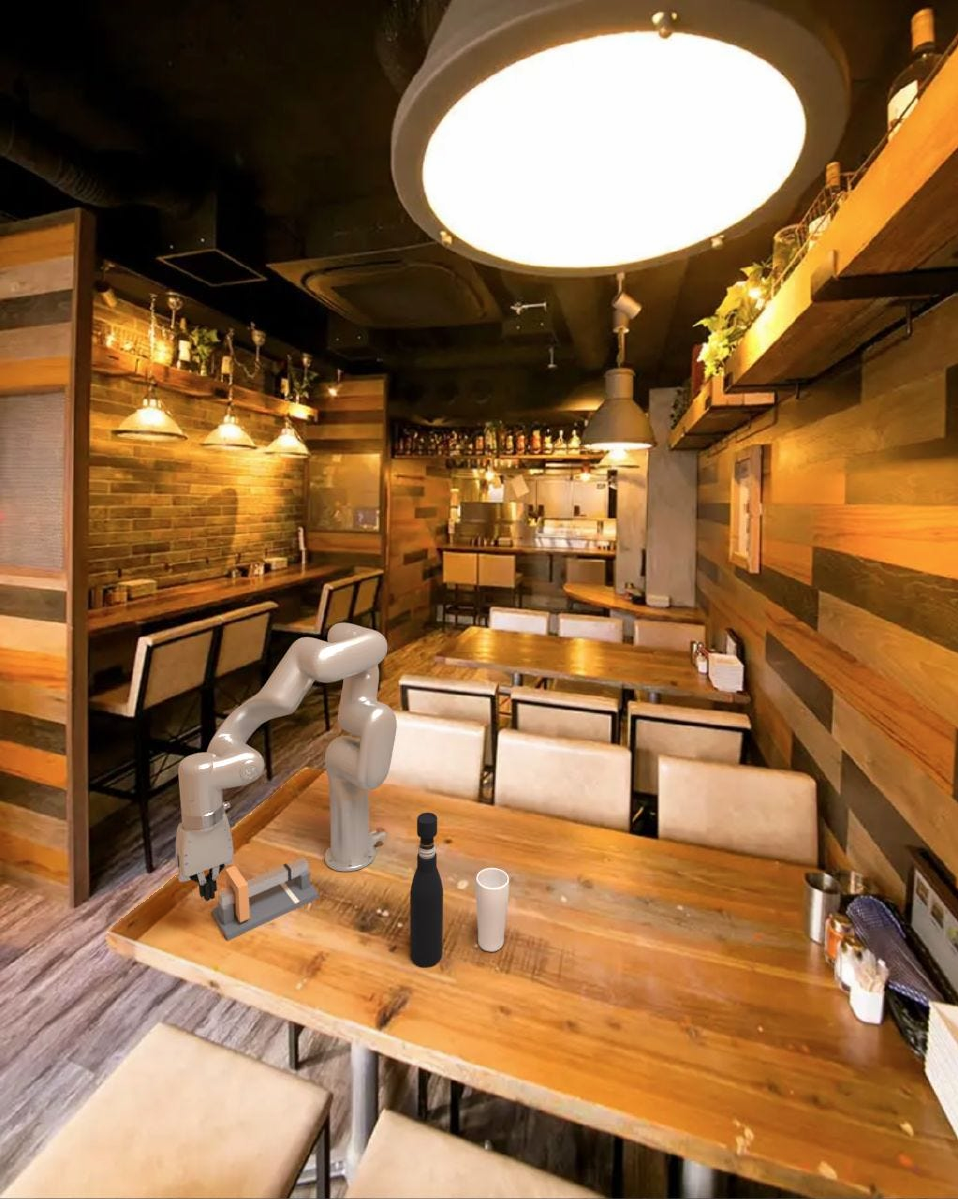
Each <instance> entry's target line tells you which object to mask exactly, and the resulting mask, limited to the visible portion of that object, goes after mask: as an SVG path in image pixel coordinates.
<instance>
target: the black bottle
mask: <svg viewBox="0 0 958 1199" xmlns="http://www.w3.org/2000/svg"><path fill="white" fill-rule="evenodd" d="M416 834H417V837H419V838H420V840H419V843H420V844H419V845H418V853H417V856H416V860H417V862H416V866H417V867H416V869H415V871H414V874H413V877H412V882H411V886H410V892H409V893H410V894H409V895H410V896H409V897H410V900H409V901H410V902H409V904H410V906H409V913H410V915H409V916H410V917H409V926H410V927H409V930H410V931H409V934H410V935H409V939H410V940H409V942H410V943H409V947H410V948H409V957H410V961H411V962H412V963H413V964H414V965H415V966H416V967H420V968H426V969H427V968H430V967H431V968H432V967H434V966H436V965H437V964H439V962H440V961H441V960H442V957H443V944H444V943H443V931H444V925H443V924H444V885H443V882H442V878H441V875H440V872H439V869H438V867H437V864H438V863H437V862H438V861H437V860H438V859H437V851H436V850H437V849H436V844H435V840H434V838H435V837H436V836H438V835H437V834H438V816H437V815H436V814H434V813H432V812H423V813H420V814H418V816H417V818H416Z"/></svg>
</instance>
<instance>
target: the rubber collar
mask: <svg viewBox="0 0 958 1199" xmlns="http://www.w3.org/2000/svg"><path fill="white" fill-rule="evenodd" d="M224 871H225V882H226V883H225V885H226V886H225V887H226V889H228V888H230V887H232V888H233V890H234V891H235V898H236V903H235V904H233V906H234V913H235V915H236V917H237V918H238V920H239V921H240V923H241V922H243V921H245V920H247V919H249V918H250V909H249V891H248V883H247V882H246V881H247V880H246V879H245V877H244V876H243V874H241V872H240V870H239V869H238V868H237V866H236V865H232V866H230V867H227V868H225V870H224Z"/></svg>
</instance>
